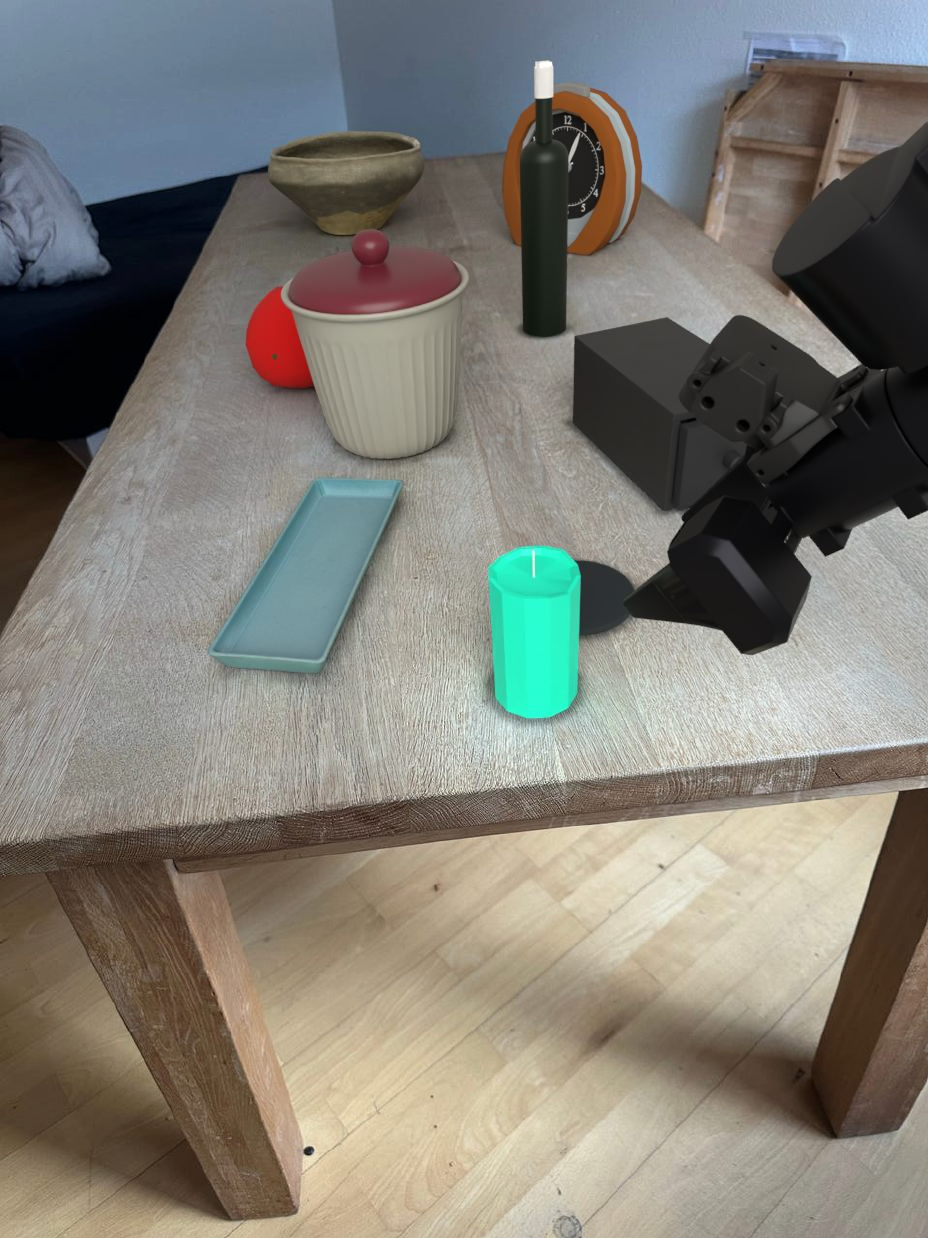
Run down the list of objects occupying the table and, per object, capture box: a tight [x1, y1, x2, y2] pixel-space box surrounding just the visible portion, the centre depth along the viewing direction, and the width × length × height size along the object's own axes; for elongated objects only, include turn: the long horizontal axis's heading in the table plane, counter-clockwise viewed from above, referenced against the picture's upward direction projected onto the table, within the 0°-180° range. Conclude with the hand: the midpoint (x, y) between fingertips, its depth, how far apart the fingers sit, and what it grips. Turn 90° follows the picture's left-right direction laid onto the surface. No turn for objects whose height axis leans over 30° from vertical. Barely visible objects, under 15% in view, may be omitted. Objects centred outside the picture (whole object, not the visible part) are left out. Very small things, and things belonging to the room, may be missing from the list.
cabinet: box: [572, 316, 711, 512], centre depth 82 cm, size 20×11×10 cm, turn 19°
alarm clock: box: [501, 81, 643, 256], centre depth 135 cm, size 22×10×23 cm, turn 53°
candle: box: [487, 544, 581, 719], centre depth 57 cm, size 6×6×12 cm
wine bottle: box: [520, 59, 569, 338], centre depth 103 cm, size 6×6×30 cm
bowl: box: [267, 130, 425, 236], centre depth 153 cm, size 28×28×14 cm
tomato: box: [245, 285, 315, 389], centre depth 101 cm, size 13×13×13 cm
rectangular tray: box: [207, 477, 405, 674], centre depth 72 cm, size 26×9×2 cm, turn 170°
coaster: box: [573, 559, 635, 636], centre depth 68 cm, size 9×9×1 cm
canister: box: [281, 229, 470, 460], centre depth 85 cm, size 18×18×21 cm
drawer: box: [672, 418, 747, 510], centre depth 80 cm, size 20×9×8 cm, turn 19°
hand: (658, 563), depth 48 cm, fingers open, 9 cm apart
